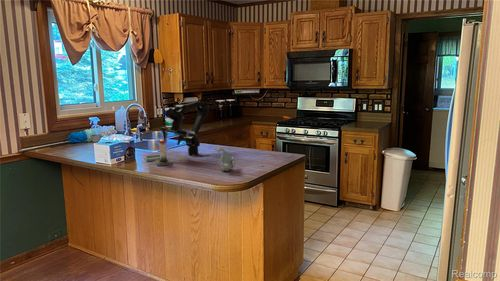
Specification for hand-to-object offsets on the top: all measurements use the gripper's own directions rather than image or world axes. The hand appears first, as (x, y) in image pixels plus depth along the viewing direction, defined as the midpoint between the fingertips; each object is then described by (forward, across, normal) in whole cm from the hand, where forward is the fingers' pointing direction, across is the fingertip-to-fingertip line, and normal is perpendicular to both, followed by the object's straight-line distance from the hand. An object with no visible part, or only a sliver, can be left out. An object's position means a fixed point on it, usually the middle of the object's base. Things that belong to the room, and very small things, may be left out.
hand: (171, 143), depth 247 cm
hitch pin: (+15, -1, +5) cm, 16 cm away
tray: (+11, +11, -7) cm, 17 cm away
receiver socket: (+15, -1, +5) cm, 16 cm away
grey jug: (+12, -45, +19) cm, 50 cm away
